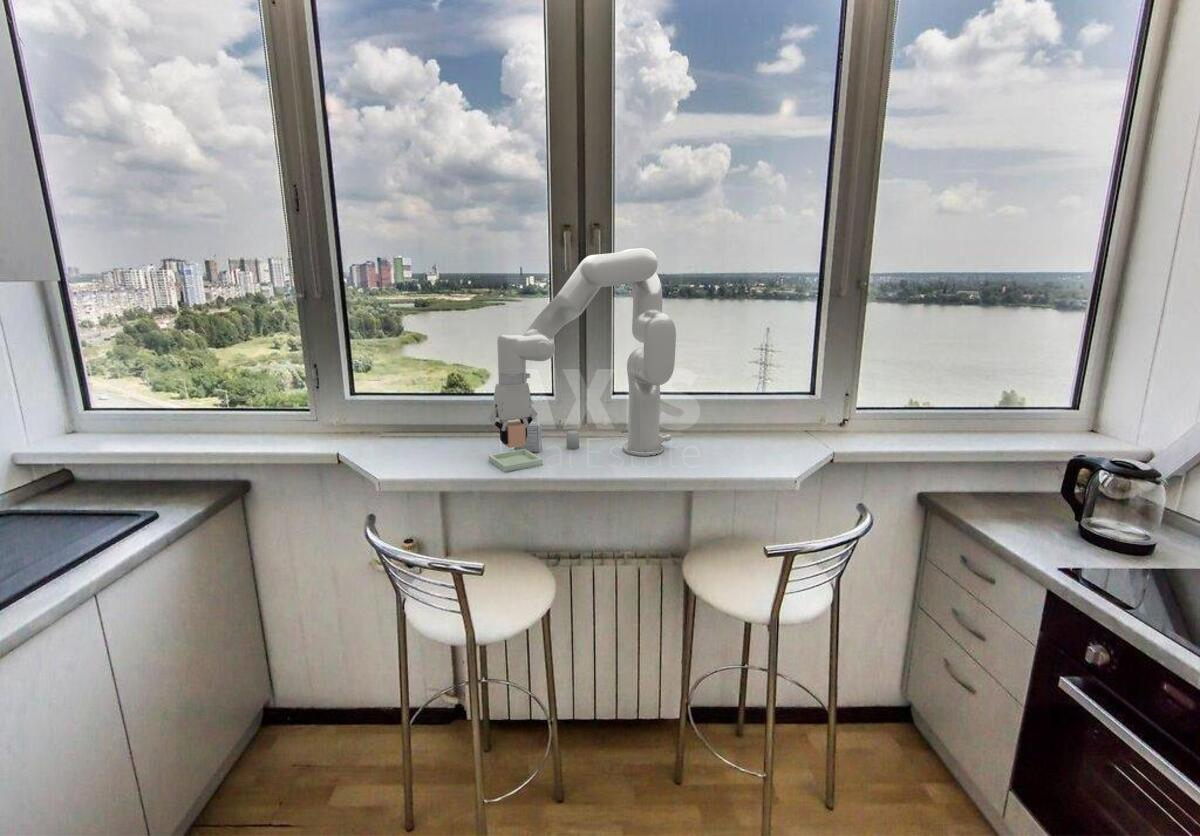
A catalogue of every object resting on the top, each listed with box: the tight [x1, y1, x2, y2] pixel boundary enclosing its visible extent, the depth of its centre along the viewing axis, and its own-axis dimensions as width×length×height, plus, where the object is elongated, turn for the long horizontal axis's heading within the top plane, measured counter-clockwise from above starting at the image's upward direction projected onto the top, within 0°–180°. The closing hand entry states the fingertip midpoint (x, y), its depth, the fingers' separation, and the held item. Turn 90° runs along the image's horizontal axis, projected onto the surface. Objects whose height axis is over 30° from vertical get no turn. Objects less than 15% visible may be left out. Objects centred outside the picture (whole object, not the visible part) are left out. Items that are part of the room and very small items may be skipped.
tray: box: [488, 449, 544, 473], centre depth 162 cm, size 12×12×2 cm
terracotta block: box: [501, 420, 526, 449], centre depth 160 cm, size 5×5×6 cm
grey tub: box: [565, 430, 580, 450], centre depth 176 cm, size 4×4×5 cm
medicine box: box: [513, 421, 543, 453], centre depth 173 cm, size 8×4×9 cm, turn 84°
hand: (513, 441), depth 160 cm, fingers closed on terracotta block, 5 cm apart
